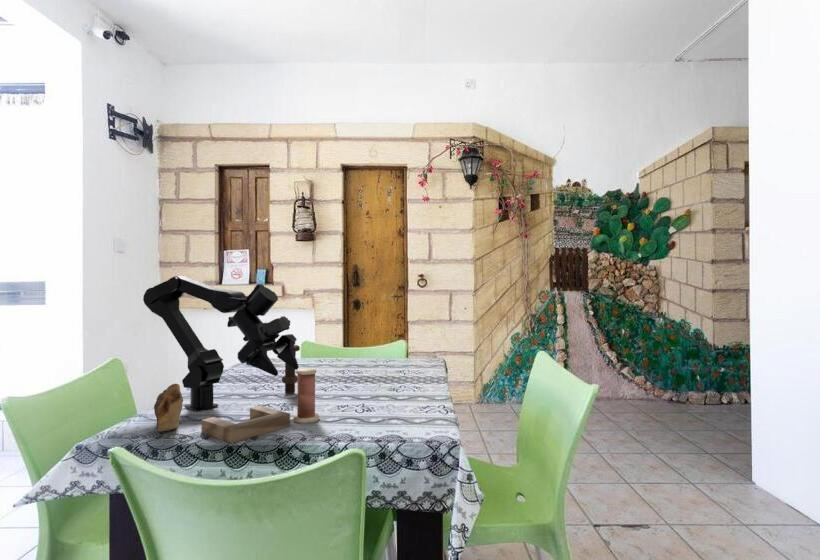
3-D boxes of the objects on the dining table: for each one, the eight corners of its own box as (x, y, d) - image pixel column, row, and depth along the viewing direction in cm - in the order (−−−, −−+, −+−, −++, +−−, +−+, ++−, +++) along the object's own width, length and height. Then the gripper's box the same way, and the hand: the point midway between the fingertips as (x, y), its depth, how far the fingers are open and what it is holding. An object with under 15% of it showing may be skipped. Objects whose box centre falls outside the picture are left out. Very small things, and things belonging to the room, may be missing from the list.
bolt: (293, 395, 147) (293, 347, 147) (278, 395, 148) (278, 346, 148) (301, 391, 153) (301, 344, 153) (286, 390, 154) (287, 344, 154)
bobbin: (288, 420, 121) (288, 371, 121) (307, 414, 126) (307, 367, 126) (304, 424, 117) (305, 374, 117) (324, 418, 122) (324, 370, 123)
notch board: (201, 432, 111) (201, 419, 111) (259, 417, 124) (260, 405, 124) (231, 443, 104) (231, 429, 104) (289, 425, 116) (290, 413, 116)
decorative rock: (184, 433, 110) (184, 387, 110) (154, 437, 107) (155, 390, 107) (180, 420, 120) (180, 378, 121) (153, 423, 117) (153, 380, 118)
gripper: (247, 308, 117) (285, 356, 113) (290, 305, 134) (325, 346, 131) (221, 339, 119) (257, 386, 116) (267, 332, 137) (300, 373, 133)
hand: (287, 371), depth 124 cm, fingers open, 9 cm apart
